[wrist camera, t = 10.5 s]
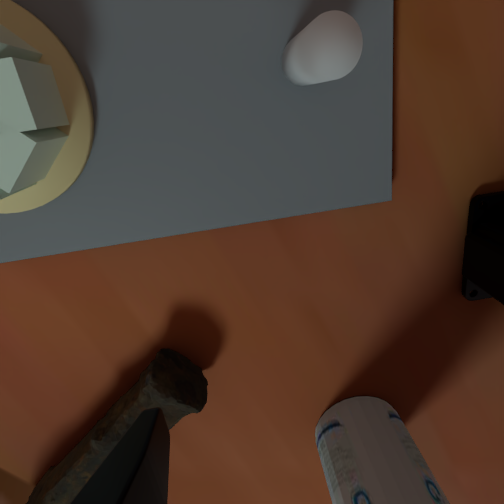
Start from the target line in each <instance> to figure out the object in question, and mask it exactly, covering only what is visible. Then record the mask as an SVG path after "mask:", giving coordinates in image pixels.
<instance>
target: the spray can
mask: <svg viewBox="0 0 504 504" xmlns="http://www.w3.org/2000/svg"><path fill="white" fill-rule="evenodd" d="M315 436H316V444H317V448H318V451H319V455H320V459H321V463H322V466H323V470H324V474H325V477H326V481H327V485H328V489H329V492H330V496H331V500H332V503H333V504H450V503H449V501H448V500H447V498H446V496H445V495H444V493H443V491H442V489H441V488H440V486H439V484H438V482H437V481H436V479H435V477H434V475H433V474H432V472H431V470H430V469H429V467H428V465H427V463H426V462H425V460H424V458H423V456H422V455H421V453H420V451H419V449H418V448H417V446H416V444H415V443H414V441H413V439H412V437H411V436H410V434H409V432H408V430H407V429H406V427H405V425H404V423H403V422H402V420H401V418H400V416H399V415H398V413H397V411H396V410H394V408H393V407H392V406H391V405H390V404H389V403H387V402H386V401H384V400H382V399H379V398H376V397H370V396H360V397H353V398H349V399H345V400H343V401H341V402H339V403H337V404H335V405H333V406H332V407H331V408H329V409H328V410H327V411H326V412H325V413H324V414H323V415H322V417H321V418H320V419H319V422H318V424H317V426H316V433H315Z"/></svg>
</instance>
